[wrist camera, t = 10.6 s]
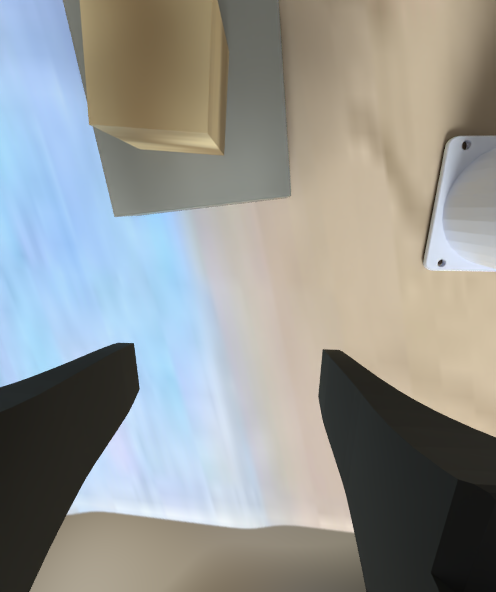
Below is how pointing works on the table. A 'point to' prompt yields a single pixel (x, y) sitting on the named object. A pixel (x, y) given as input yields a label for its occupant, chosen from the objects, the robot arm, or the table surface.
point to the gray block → (238, 134)
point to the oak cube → (157, 73)
